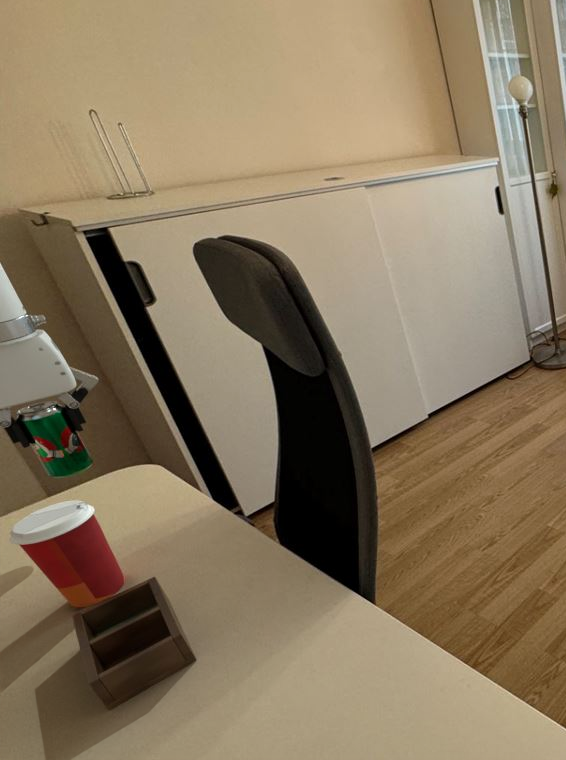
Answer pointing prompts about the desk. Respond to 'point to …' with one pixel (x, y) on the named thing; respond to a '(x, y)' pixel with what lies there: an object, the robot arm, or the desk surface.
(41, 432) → the soda can
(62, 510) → the paper cup
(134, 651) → the brown wooden divided box
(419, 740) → the desk surface
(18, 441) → the robot arm
